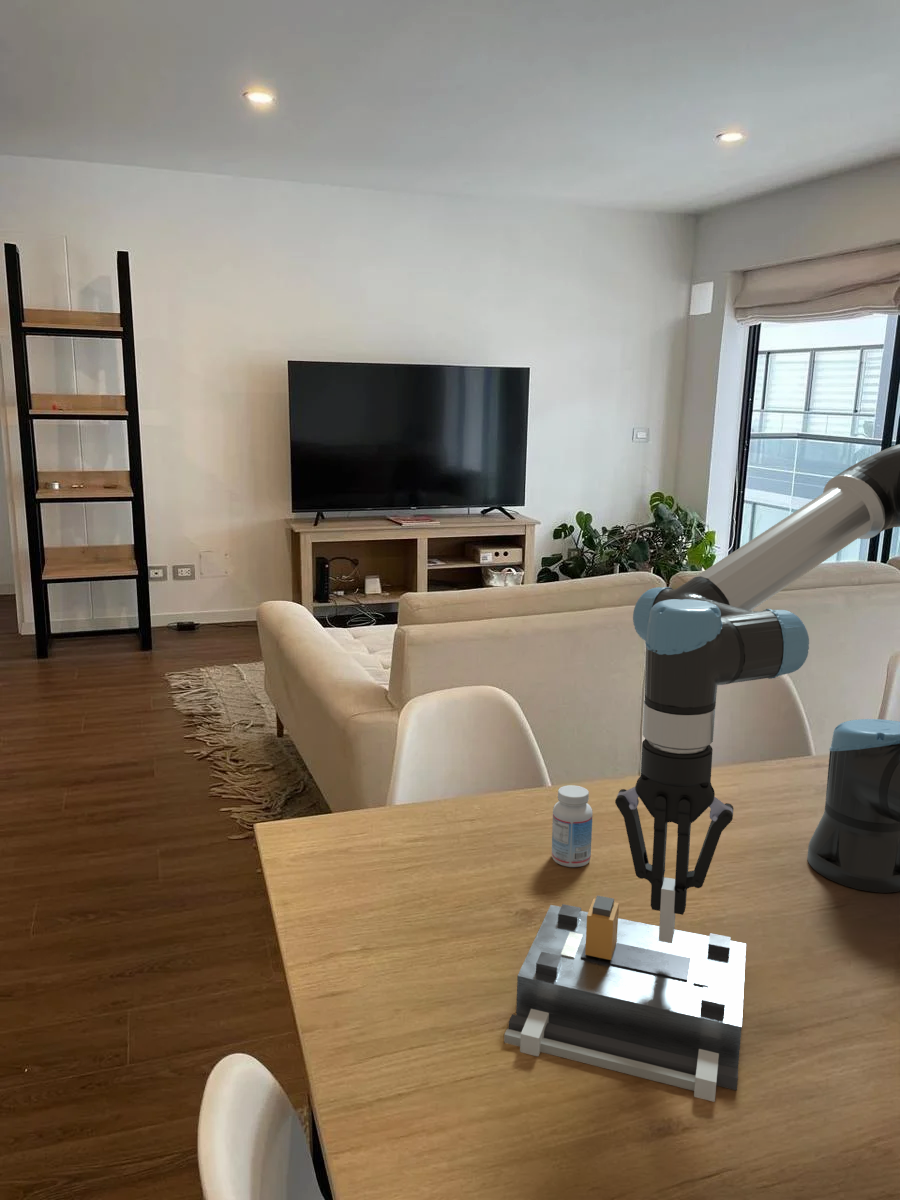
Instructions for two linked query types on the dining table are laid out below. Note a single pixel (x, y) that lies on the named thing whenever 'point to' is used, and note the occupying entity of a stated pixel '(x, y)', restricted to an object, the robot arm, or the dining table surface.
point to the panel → (638, 986)
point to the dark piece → (621, 1055)
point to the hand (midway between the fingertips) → (666, 935)
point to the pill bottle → (572, 827)
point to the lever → (602, 928)
